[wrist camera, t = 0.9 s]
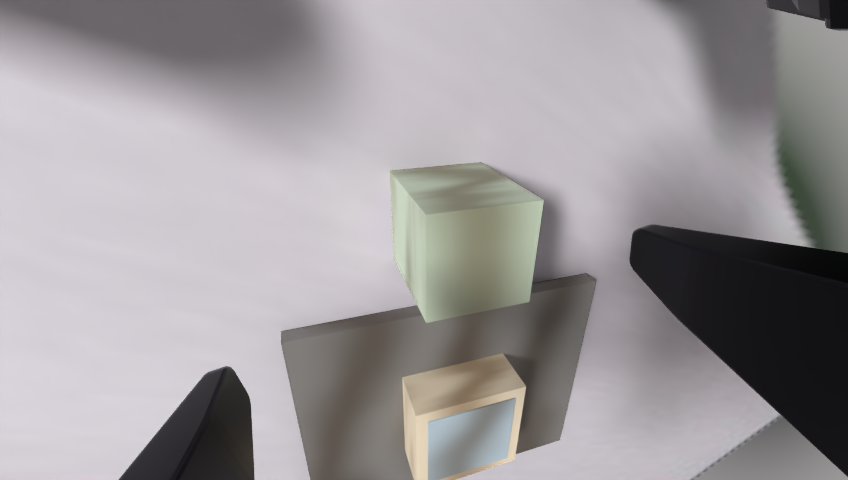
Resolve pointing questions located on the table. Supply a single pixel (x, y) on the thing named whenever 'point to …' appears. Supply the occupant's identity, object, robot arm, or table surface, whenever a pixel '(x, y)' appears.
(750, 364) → the robot arm
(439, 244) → the sage block
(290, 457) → the table surface
